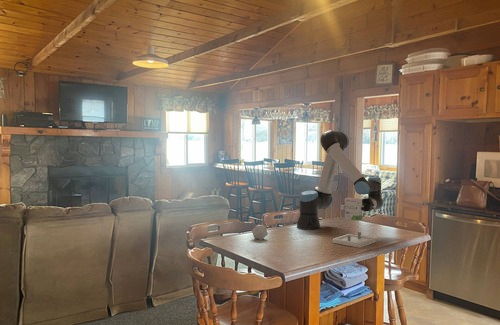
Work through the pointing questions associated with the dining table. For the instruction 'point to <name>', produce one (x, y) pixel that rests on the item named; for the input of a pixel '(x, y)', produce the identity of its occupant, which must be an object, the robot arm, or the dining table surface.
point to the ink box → (353, 208)
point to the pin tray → (354, 240)
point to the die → (259, 232)
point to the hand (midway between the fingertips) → (349, 208)
